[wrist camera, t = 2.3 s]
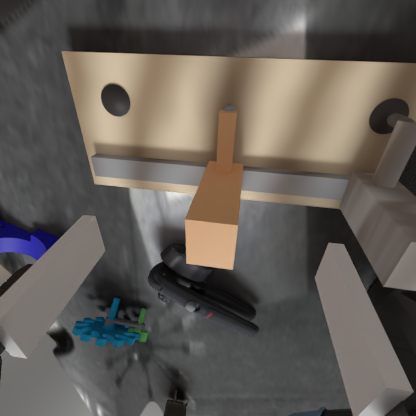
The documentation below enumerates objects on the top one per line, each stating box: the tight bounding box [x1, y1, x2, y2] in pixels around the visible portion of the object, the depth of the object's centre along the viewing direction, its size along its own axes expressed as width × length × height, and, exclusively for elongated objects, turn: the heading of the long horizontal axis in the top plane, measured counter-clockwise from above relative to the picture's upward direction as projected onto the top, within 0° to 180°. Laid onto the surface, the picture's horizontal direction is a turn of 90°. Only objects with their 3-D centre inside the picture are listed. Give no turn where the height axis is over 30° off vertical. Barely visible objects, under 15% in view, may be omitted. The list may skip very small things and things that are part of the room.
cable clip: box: [0, 220, 60, 260], centre depth 32 cm, size 12×4×6 cm, turn 64°
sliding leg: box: [185, 104, 243, 270], centre depth 17 cm, size 3×8×10 cm, turn 178°
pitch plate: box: [62, 51, 416, 291], centre depth 18 cm, size 28×12×12 cm, turn 89°
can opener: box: [148, 244, 259, 336], centre depth 32 cm, size 18×7×6 cm, turn 48°
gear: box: [72, 297, 148, 347], centre depth 38 cm, size 11×6×10 cm
